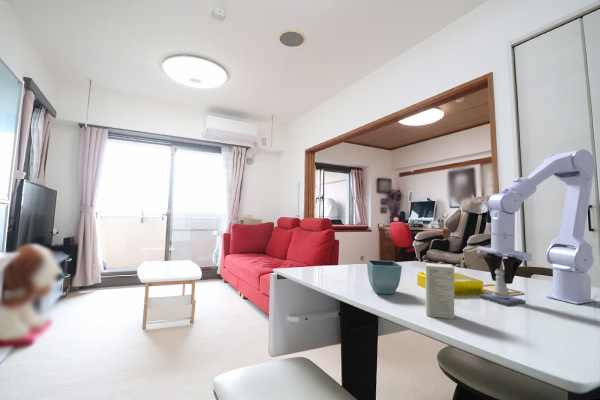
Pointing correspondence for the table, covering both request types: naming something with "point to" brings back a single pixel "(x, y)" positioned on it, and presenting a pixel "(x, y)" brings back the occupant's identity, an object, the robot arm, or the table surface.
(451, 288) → the skincare box
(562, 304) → the table surface
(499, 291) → the rook chess piece
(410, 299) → the table surface
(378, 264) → the flower pot
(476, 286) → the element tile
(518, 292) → the mat
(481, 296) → the ink pad
